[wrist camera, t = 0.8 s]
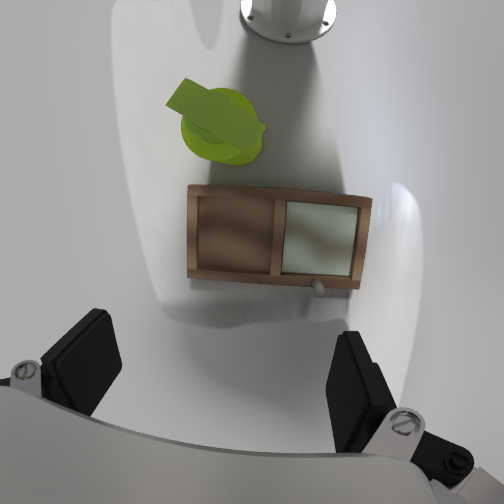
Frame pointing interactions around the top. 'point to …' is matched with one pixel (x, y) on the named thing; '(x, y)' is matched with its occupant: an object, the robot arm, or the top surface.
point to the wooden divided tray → (276, 236)
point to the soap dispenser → (218, 123)
